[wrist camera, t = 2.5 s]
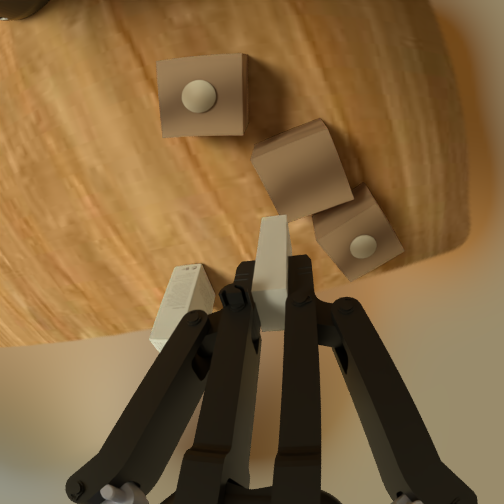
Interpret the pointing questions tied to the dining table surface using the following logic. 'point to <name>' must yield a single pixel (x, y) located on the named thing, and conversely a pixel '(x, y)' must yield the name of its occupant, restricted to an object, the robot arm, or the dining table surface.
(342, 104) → the dining table surface
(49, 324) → the dining table surface
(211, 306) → the skincare box
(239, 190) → the dining table surface
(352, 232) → the dotted walnut block
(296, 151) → the plain walnut block
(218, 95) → the dotted walnut block
